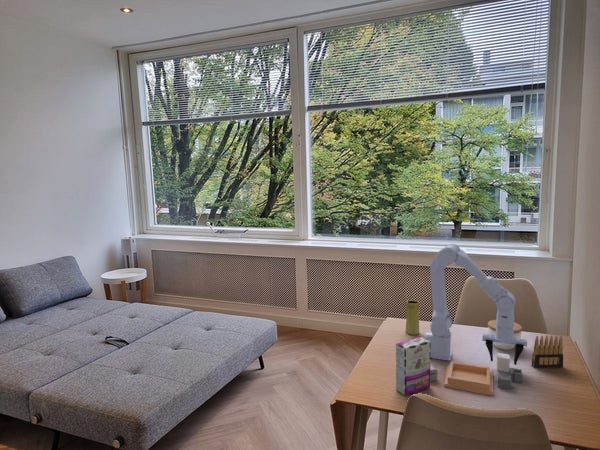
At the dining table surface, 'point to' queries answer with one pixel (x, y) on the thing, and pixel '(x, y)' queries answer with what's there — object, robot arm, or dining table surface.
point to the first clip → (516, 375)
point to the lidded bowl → (501, 345)
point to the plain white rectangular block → (503, 362)
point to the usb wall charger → (433, 373)
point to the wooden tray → (469, 378)
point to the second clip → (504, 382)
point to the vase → (412, 317)
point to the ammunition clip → (548, 353)
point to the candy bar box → (413, 365)
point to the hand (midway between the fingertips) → (503, 361)
